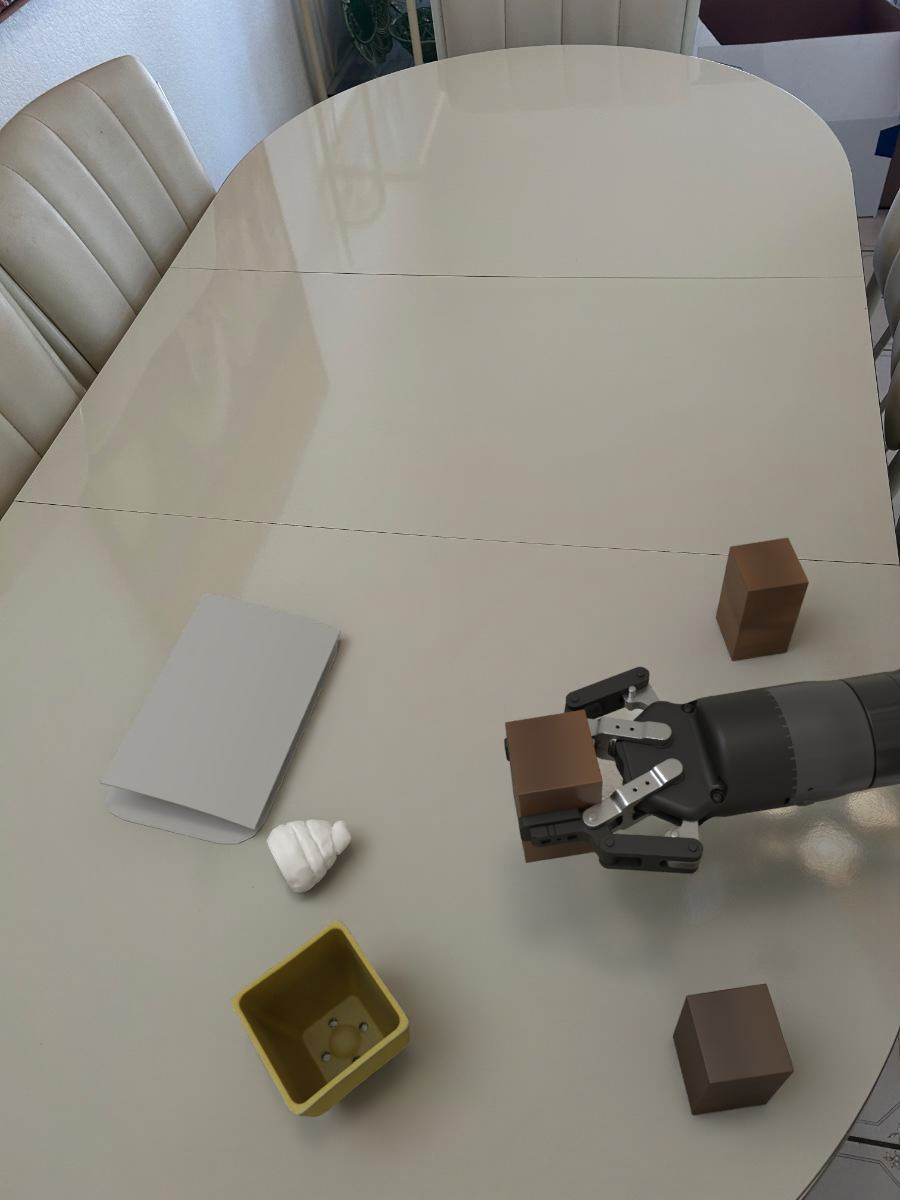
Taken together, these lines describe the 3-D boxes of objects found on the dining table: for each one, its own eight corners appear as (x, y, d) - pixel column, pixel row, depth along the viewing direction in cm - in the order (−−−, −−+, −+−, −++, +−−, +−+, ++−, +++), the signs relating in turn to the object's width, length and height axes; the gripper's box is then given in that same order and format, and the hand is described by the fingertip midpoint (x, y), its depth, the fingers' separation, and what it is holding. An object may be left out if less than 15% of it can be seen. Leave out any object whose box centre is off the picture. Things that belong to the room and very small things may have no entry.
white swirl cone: (368, 868, 75) (356, 839, 71) (301, 907, 74) (284, 880, 69) (339, 814, 78) (326, 784, 74) (274, 851, 77) (257, 822, 72)
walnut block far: (768, 608, 87) (788, 537, 79) (787, 652, 84) (809, 582, 76) (715, 617, 87) (729, 546, 79) (731, 660, 84) (748, 591, 76)
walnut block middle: (584, 784, 65) (584, 708, 57) (599, 851, 62) (603, 781, 54) (513, 796, 65) (504, 722, 58) (525, 863, 62) (518, 795, 54)
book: (92, 812, 81) (74, 791, 78) (206, 605, 94) (194, 580, 91) (253, 852, 77) (240, 832, 74) (348, 631, 90) (340, 606, 87)
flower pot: (324, 1142, 63) (293, 1119, 56) (262, 1033, 68) (226, 998, 61) (429, 1056, 66) (412, 1023, 59) (362, 957, 71) (339, 915, 64)
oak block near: (743, 1025, 65) (766, 982, 57) (766, 1104, 62) (794, 1071, 54) (672, 1035, 65) (686, 995, 57) (692, 1115, 62) (709, 1084, 54)
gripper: (749, 621, 60) (490, 663, 61) (833, 824, 51) (529, 873, 52) (734, 684, 66) (498, 723, 66) (807, 877, 57) (534, 921, 57)
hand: (513, 788), depth 59 cm, fingers closed on walnut block middle, 5 cm apart
